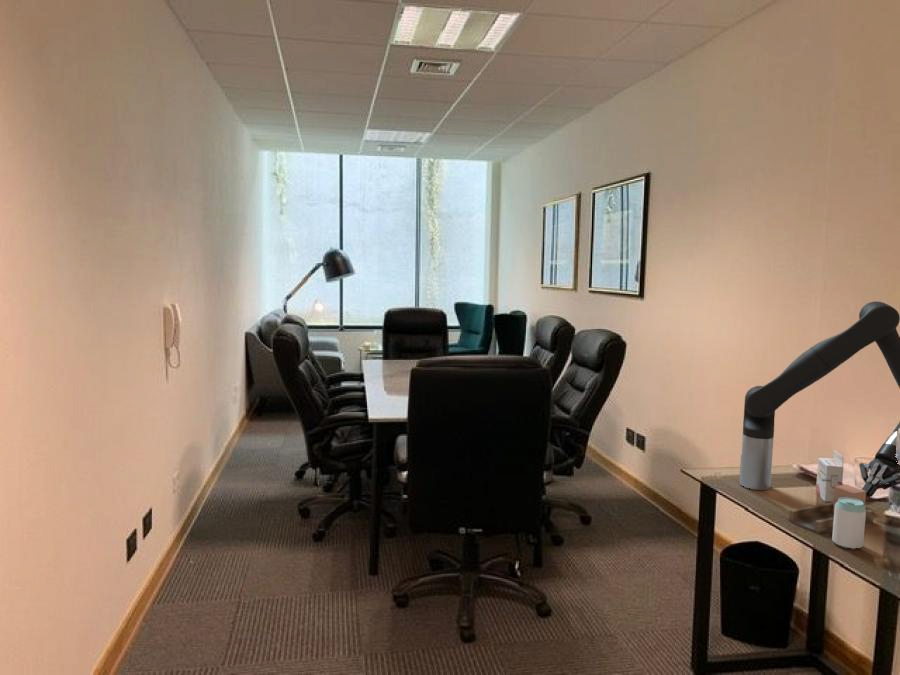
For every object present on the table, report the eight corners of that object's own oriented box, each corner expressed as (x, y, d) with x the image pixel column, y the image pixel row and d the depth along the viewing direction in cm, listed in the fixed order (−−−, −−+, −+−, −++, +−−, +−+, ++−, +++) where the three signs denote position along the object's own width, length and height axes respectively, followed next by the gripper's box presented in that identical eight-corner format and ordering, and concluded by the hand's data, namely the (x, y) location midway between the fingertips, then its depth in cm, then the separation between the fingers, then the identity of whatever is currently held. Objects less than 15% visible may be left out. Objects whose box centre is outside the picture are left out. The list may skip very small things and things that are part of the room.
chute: (842, 510, 197) (843, 500, 197) (872, 522, 189) (873, 511, 188) (788, 521, 189) (789, 510, 189) (818, 533, 180) (819, 522, 180)
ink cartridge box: (814, 492, 213) (818, 448, 211) (831, 493, 212) (834, 449, 210) (824, 501, 204) (827, 456, 203) (841, 503, 203) (845, 457, 202)
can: (869, 549, 171) (873, 505, 169) (845, 551, 170) (848, 506, 168) (849, 538, 178) (852, 495, 176) (825, 539, 177) (829, 496, 175)
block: (844, 510, 195) (846, 484, 194) (863, 517, 189) (866, 491, 189) (832, 512, 193) (834, 486, 192) (851, 520, 188) (854, 493, 187)
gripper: (869, 437, 201) (838, 480, 198) (914, 448, 189) (881, 495, 186) (880, 452, 204) (849, 495, 201) (924, 464, 192) (892, 511, 188)
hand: (865, 495), depth 193 cm, fingers closed
